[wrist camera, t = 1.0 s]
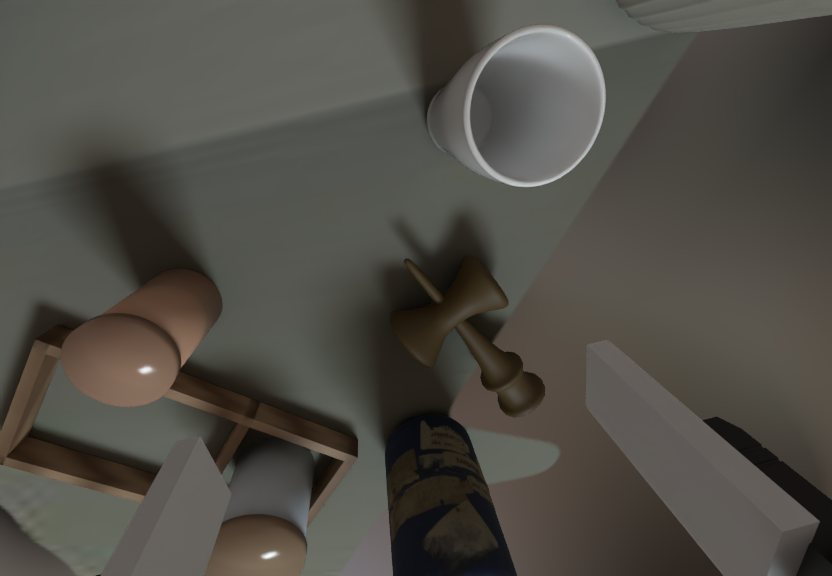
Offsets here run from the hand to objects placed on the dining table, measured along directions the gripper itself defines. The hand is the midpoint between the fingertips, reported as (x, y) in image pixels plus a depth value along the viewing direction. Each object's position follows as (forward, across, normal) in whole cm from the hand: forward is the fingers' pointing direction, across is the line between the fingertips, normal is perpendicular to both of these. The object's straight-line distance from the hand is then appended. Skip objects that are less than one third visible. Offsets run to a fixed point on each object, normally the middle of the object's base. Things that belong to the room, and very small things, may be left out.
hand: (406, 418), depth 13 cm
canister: (+22, +1, -24) cm, 33 cm away
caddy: (+22, -22, -17) cm, 36 cm away
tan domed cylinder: (+23, -17, -2) cm, 28 cm away
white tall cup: (+23, +8, +8) cm, 26 cm away
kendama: (+23, +7, -10) cm, 26 cm away
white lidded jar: (+22, -16, -22) cm, 35 cm away
